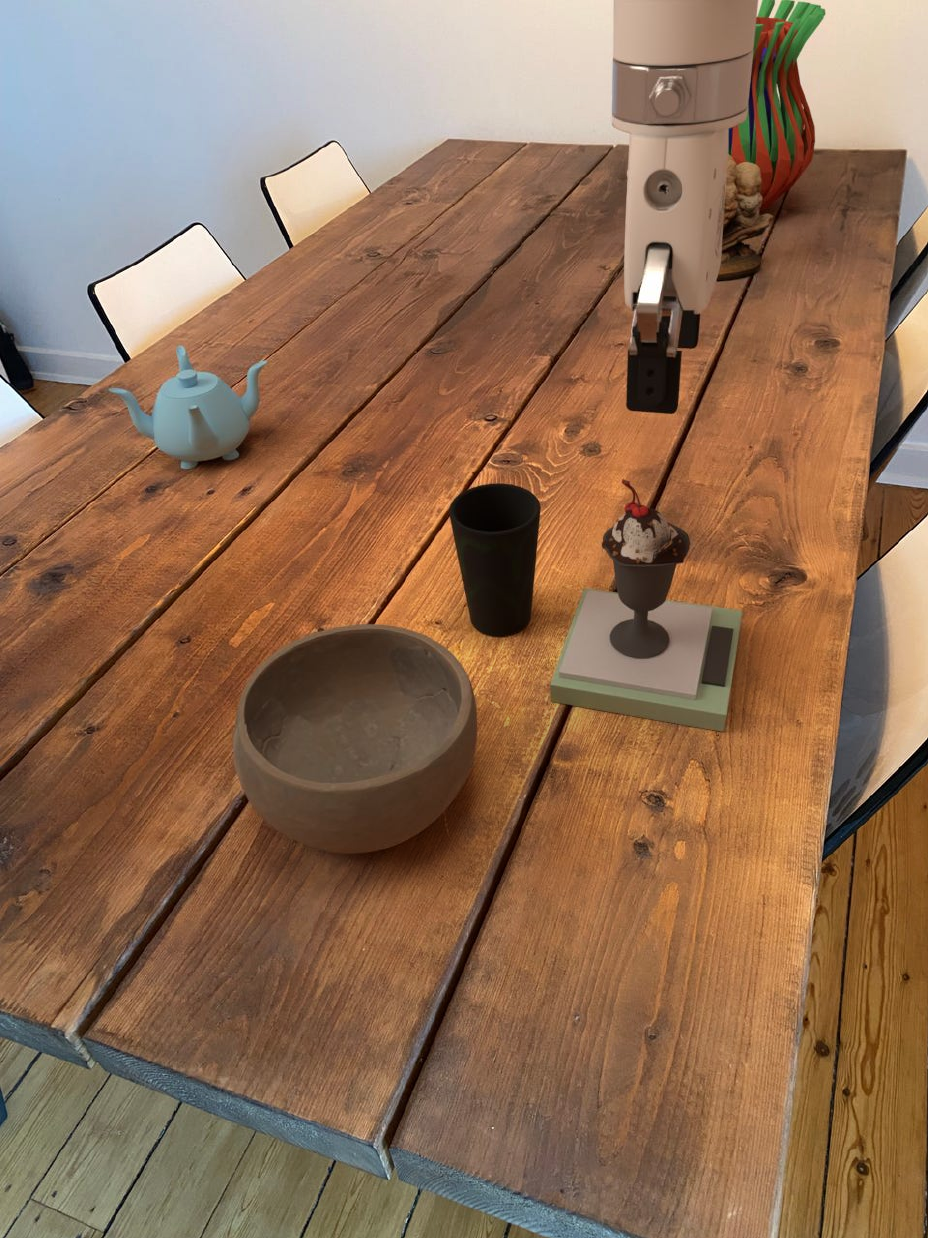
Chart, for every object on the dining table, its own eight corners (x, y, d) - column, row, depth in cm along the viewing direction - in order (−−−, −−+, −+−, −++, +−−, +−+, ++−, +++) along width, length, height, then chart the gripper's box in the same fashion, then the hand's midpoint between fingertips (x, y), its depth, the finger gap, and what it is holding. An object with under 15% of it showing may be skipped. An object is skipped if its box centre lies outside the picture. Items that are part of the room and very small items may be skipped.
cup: (550, 596, 89) (549, 487, 81) (531, 650, 83) (528, 538, 75) (471, 586, 90) (463, 478, 83) (448, 638, 85) (436, 527, 77)
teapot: (131, 465, 113) (104, 387, 106) (203, 415, 121) (182, 340, 115) (215, 487, 108) (192, 407, 101) (284, 433, 116) (267, 355, 110)
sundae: (595, 614, 82) (599, 464, 72) (674, 612, 82) (688, 461, 72) (601, 666, 77) (606, 513, 67) (684, 665, 77) (702, 510, 67)
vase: (789, 180, 179) (816, -9, 160) (819, 233, 156) (855, 20, 137) (627, 186, 183) (635, 2, 163) (633, 240, 160) (643, 33, 140)
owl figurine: (758, 251, 152) (773, 135, 141) (774, 278, 143) (791, 157, 132) (645, 257, 153) (651, 143, 142) (653, 285, 144) (661, 165, 133)
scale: (740, 627, 83) (743, 604, 82) (724, 732, 74) (727, 709, 73) (583, 604, 87) (584, 582, 86) (550, 701, 78) (549, 679, 76)
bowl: (476, 699, 79) (468, 606, 72) (490, 880, 65) (482, 786, 59) (270, 715, 79) (244, 624, 73) (241, 900, 65) (206, 808, 59)
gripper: (733, 129, 46) (704, 444, 56) (762, 58, 58) (734, 327, 69) (579, 131, 48) (580, 434, 59) (639, 61, 60) (631, 322, 71)
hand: (663, 376), depth 64 cm, fingers open, 9 cm apart
